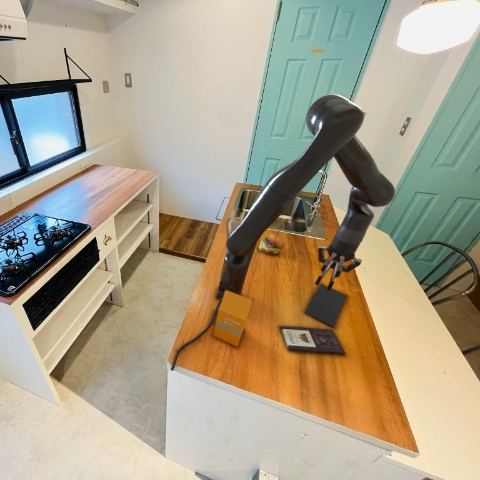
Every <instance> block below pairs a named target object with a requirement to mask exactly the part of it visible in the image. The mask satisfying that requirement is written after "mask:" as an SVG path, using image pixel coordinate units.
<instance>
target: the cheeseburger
mask: <svg viewBox="0 0 480 480" xmlns="http://www.w3.org/2000/svg"><path fill="white" fill-rule="evenodd" d="M285 246H286V241H285V240H284V239H283V238H282V237H279V236H278V235H277V234H276V233H269V234H267V236H265V237H264V238H263V239H262V241H260V244H259V245H258V249H259V251H260V252H263V253H265V254H266V255H267V254H268V255H271V256H275V255H277V254H278V253H279V252H280V251H281V250H283V249H284V248H285Z"/></svg>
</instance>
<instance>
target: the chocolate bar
mask: <svg viewBox="0 0 480 480" xmlns="http://www.w3.org/2000/svg"><path fill="white" fill-rule="evenodd" d="M280 329H281V332H282V335H283V338H284V341H285V344H286V346H287V349H288V351H291V352H292V351H293V352H306V353H319V354H331V355H345V354H346V351H345V350H344V347H343V345H342V344H341V341H340V340H339V338H338V336H337V335H336V333H335V331H334V328H332V329H331V328H320V327H319V328H318V327H306V326H305V327H303V326H291V325H281V326H280Z"/></svg>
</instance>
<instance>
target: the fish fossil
mask: <svg viewBox="0 0 480 480" xmlns="http://www.w3.org/2000/svg"><path fill="white" fill-rule="evenodd" d="M244 219H245V218H244V217H241V216H235V217H232V218H231V219H229V220H228V222H227V232H228V235H229V234H230V233H231V231H232V230H233V228H234V227H235V226H236V225H238V224H241V223H242V221H243V220H244Z"/></svg>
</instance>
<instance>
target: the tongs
mask: <svg viewBox="0 0 480 480" xmlns="http://www.w3.org/2000/svg"><path fill="white" fill-rule="evenodd" d="M338 268H339V262H337V261H335V260H332V261H331V262H329V264H328V266H327V268H326V269H325V270H324V272H323V273H322V272H321V274H320V275H318V277H317V278H316V280H315V282H314V285H316V286H320V284H321V282H322V280H323V279H324V277H325V276H326V275H327V273H328V272H329V270H330V269H333V270H332V272H331V276H330V278H329V281H328V285H327V290H329V291H330V290H331V288H332V289H333V286H334V284H335V279H336V278H335V275H336V271H337V269H338Z"/></svg>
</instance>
